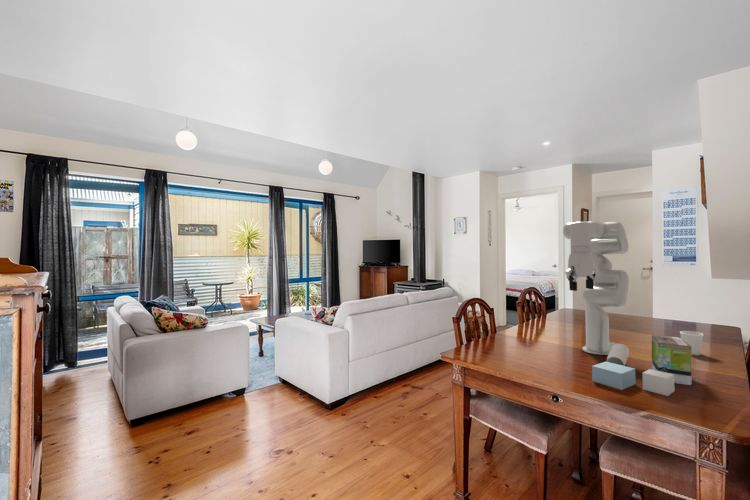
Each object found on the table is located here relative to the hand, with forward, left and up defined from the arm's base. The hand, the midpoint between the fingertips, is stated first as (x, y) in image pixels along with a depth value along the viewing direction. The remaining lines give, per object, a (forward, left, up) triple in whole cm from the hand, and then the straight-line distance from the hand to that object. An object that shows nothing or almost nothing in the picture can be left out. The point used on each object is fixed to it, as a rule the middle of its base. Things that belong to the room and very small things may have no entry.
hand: (581, 289), depth 149 cm
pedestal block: (+7, +19, -33) cm, 39 cm away
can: (-18, +3, -27) cm, 32 cm away
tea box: (-19, +22, -33) cm, 44 cm away
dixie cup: (-62, +5, -33) cm, 70 cm away
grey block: (-1, +29, -33) cm, 44 cm away
